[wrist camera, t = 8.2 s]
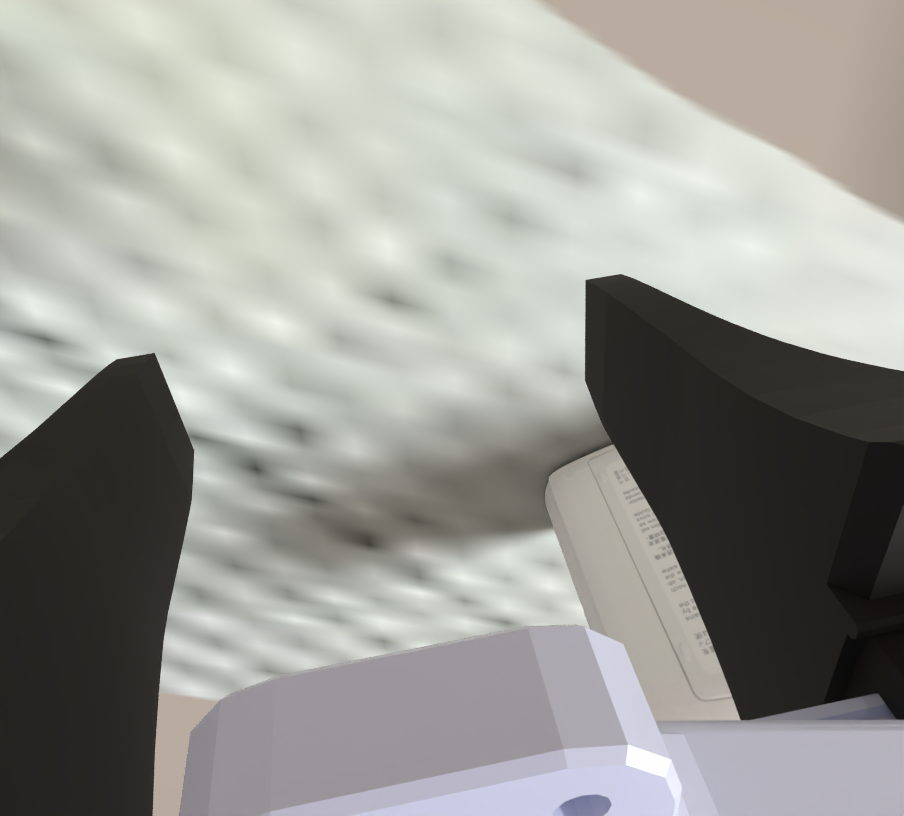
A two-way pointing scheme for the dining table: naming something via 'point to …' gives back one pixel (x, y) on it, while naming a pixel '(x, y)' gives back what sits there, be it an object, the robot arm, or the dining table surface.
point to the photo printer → (636, 587)
